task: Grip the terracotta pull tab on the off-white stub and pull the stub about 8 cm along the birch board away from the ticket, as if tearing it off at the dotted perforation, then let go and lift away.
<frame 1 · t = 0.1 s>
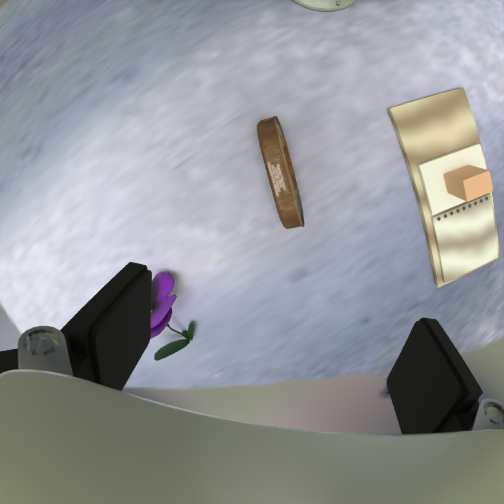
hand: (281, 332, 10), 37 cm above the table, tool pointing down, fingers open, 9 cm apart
stub: (466, 181, 37), point 5 cm above the table, slide at 0.0 cm
tin: (281, 169, 45), on the table
flower: (169, 308, 55), on the table
ticket pad: (456, 206, 43), on the table
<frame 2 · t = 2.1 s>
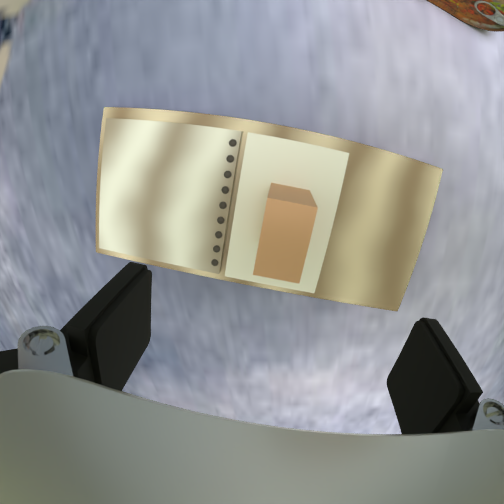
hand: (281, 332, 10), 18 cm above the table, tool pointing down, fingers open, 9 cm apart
stub: (284, 226, 23), point 5 cm above the table, slide at 0.0 cm
ticket pad: (224, 198, 28), on the table
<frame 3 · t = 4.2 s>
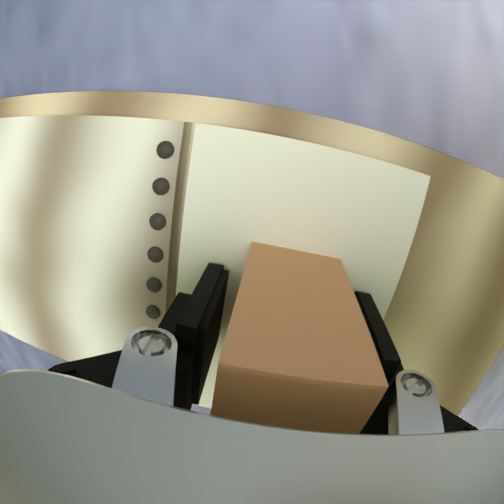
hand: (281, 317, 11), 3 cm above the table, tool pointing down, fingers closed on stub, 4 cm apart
stub: (279, 357, 9), point 5 cm above the table, slide at -0.1 cm, touching gripper
ticket pad: (167, 258, 14), on the table
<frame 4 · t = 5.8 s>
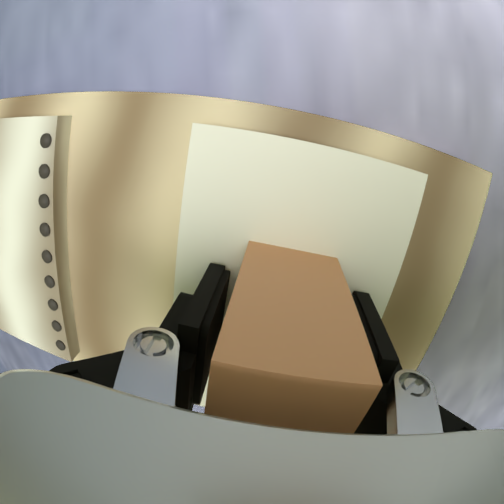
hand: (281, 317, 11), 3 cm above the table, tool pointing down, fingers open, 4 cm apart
stub: (276, 356, 9), point 5 cm above the table, slide at 5.2 cm, touching gripper
ticket pad: (72, 236, 14), on the table
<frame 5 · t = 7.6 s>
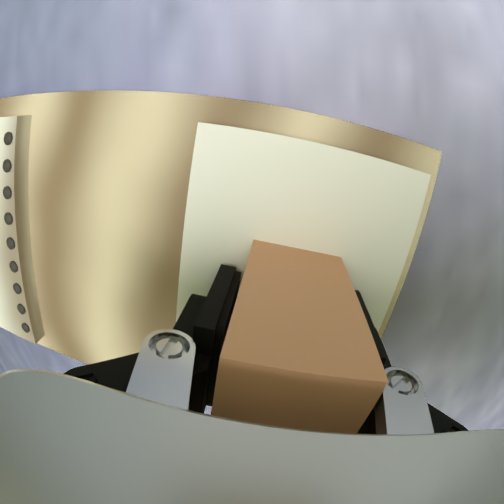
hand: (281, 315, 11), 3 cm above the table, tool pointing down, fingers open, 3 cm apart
stub: (280, 354, 9), point 5 cm above the table, slide at 8.0 cm
ticket pad: (37, 226, 14), on the table
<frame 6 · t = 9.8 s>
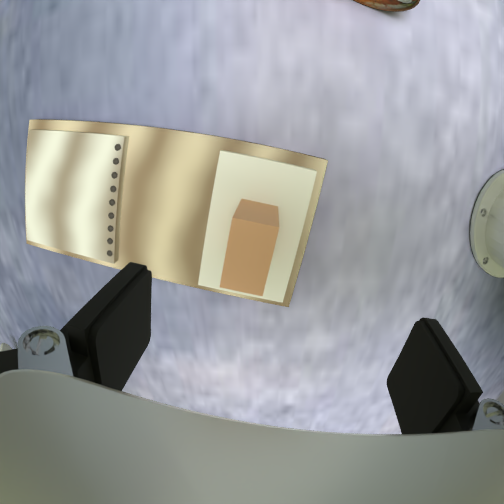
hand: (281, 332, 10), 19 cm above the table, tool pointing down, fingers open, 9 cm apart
stub: (251, 241, 24), point 5 cm above the table, slide at 8.0 cm
ticket pad: (121, 196, 29), on the table
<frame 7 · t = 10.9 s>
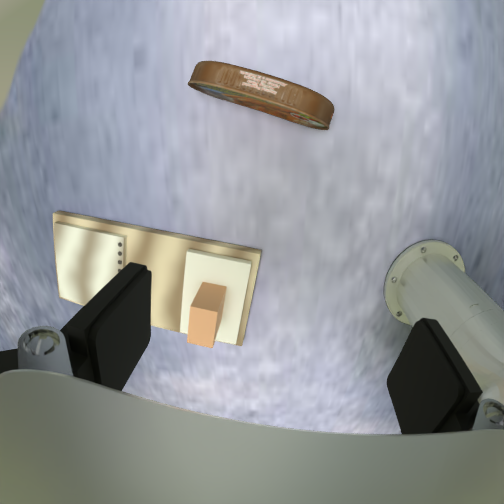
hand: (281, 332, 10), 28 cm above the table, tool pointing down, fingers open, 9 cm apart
stub: (208, 311, 37), point 5 cm above the table, slide at 8.0 cm
tin: (263, 98, 33), on the table
ticket pad: (125, 271, 43), on the table
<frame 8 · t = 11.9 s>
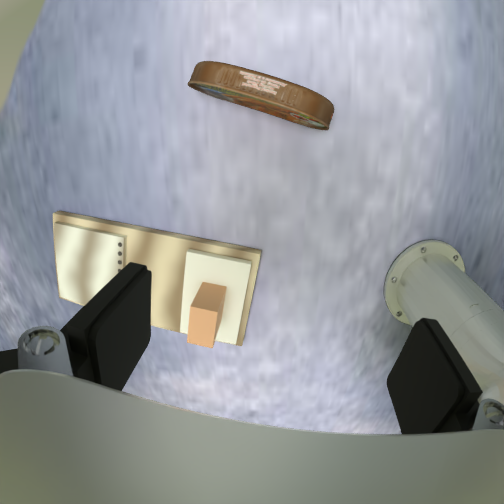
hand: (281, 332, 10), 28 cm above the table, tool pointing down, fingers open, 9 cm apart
stub: (208, 311, 37), point 5 cm above the table, slide at 8.0 cm
tin: (263, 98, 33), on the table
ticket pad: (125, 271, 43), on the table
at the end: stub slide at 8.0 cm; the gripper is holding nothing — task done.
